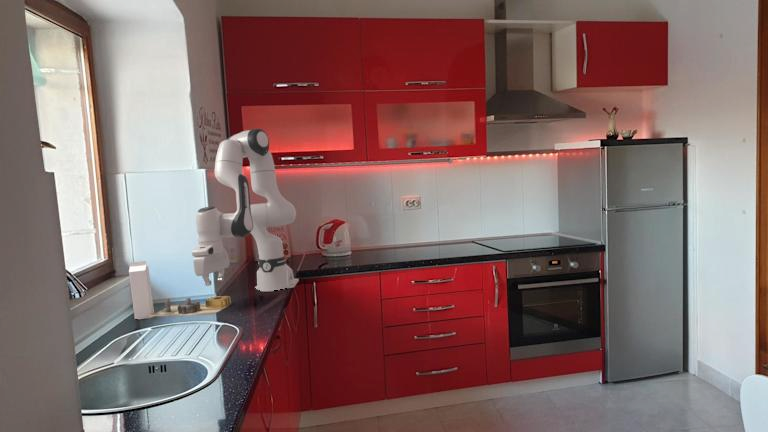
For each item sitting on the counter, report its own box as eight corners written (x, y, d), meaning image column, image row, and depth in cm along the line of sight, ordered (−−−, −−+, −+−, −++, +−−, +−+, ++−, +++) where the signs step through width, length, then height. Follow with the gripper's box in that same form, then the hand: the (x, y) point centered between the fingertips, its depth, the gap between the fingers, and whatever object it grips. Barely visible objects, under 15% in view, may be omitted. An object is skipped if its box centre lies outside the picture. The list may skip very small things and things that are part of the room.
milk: (151, 317, 199) (144, 262, 197) (134, 320, 198) (127, 264, 196) (154, 313, 205) (147, 259, 203) (137, 316, 204) (131, 261, 202)
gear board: (172, 308, 211) (170, 293, 210) (232, 307, 205) (230, 291, 205) (148, 320, 196) (146, 303, 196) (213, 318, 191) (211, 301, 190)
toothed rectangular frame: (213, 303, 208) (212, 296, 207) (231, 303, 206) (230, 295, 206) (205, 308, 202) (204, 300, 201) (224, 307, 200) (223, 299, 200)
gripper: (217, 245, 212) (221, 278, 213) (189, 252, 192) (193, 288, 193) (231, 244, 211) (235, 277, 212) (204, 251, 191) (208, 288, 192)
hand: (214, 283), depth 202 cm, fingers open, 8 cm apart
